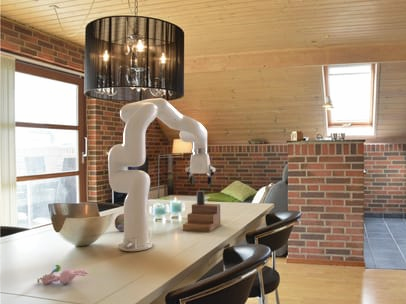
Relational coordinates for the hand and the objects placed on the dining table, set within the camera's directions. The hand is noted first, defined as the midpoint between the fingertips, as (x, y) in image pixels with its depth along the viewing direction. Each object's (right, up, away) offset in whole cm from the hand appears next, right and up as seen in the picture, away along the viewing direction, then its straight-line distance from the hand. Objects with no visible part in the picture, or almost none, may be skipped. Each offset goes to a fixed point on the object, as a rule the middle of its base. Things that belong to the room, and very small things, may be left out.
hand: (200, 184), depth 183 cm
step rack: (+1, -22, -6) cm, 23 cm away
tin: (-35, -22, -8) cm, 43 cm away
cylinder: (0, -11, 0) cm, 11 cm away
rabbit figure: (-32, -23, -79) cm, 88 cm away
